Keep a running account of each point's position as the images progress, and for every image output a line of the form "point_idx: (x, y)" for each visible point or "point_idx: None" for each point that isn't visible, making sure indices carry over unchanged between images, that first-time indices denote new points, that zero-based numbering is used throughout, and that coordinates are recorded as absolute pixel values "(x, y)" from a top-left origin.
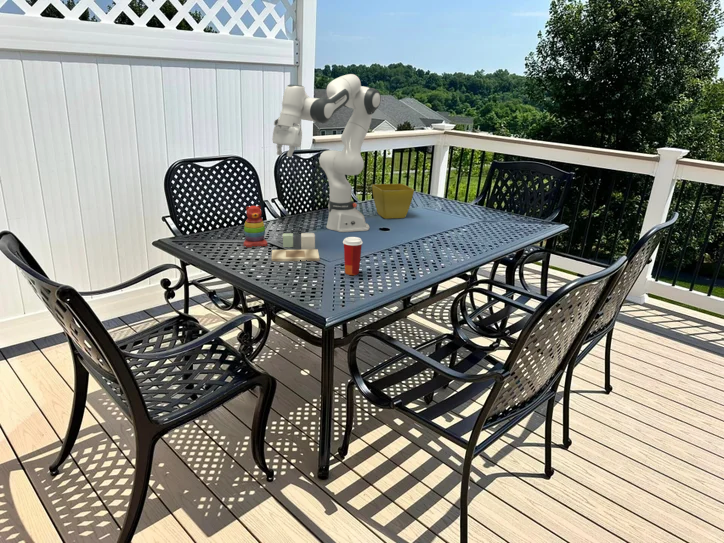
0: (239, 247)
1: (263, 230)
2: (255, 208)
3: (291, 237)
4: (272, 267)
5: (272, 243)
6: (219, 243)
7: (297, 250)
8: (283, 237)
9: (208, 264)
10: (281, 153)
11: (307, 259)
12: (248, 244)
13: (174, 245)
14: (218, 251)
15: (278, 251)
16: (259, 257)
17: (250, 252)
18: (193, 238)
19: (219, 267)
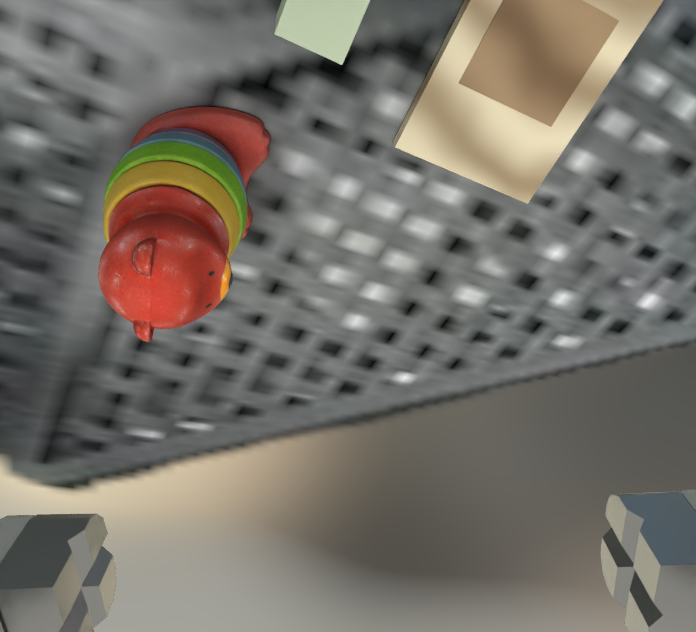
0: (231, 260)
1: (228, 169)
2: (191, 293)
3: (367, 1)
4: (596, 221)
5: (222, 70)
6: (128, 321)
7: (487, 7)
8: (342, 58)
9: (405, 411)
10: (72, 548)
11: (647, 17)
12: (246, 229)
13: (107, 464)
14: (257, 351)
15: (440, 125)
16: (432, 225)
17: (336, 238)
18: (9, 395)
19: (460, 389)
